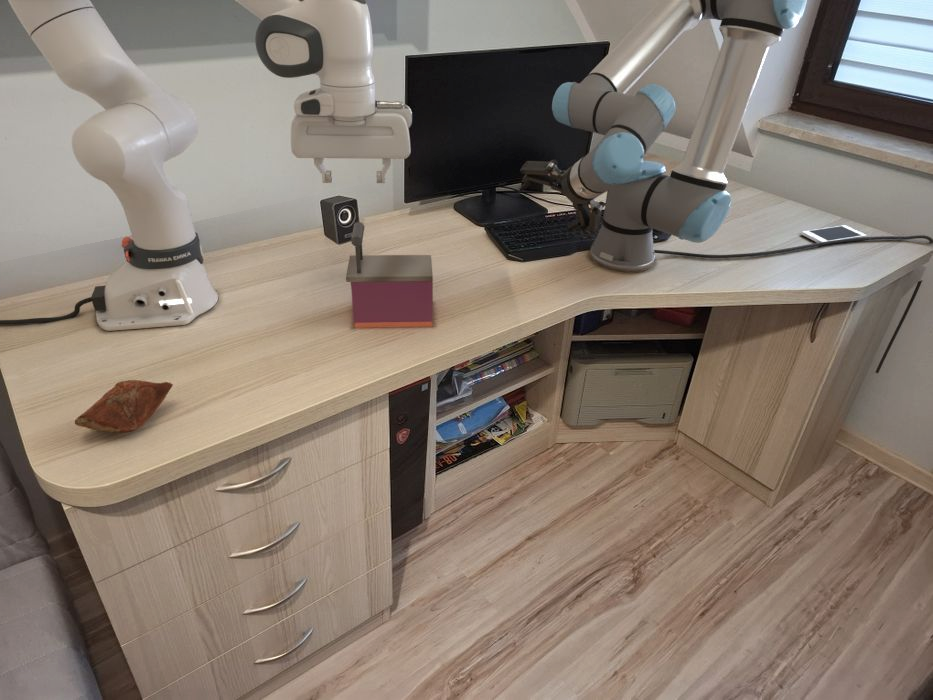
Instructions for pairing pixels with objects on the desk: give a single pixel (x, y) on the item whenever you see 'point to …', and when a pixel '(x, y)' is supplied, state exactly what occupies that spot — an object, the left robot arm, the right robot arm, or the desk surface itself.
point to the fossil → (125, 406)
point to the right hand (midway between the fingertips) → (547, 206)
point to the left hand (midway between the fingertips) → (354, 182)
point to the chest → (392, 304)
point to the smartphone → (832, 234)
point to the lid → (385, 264)
